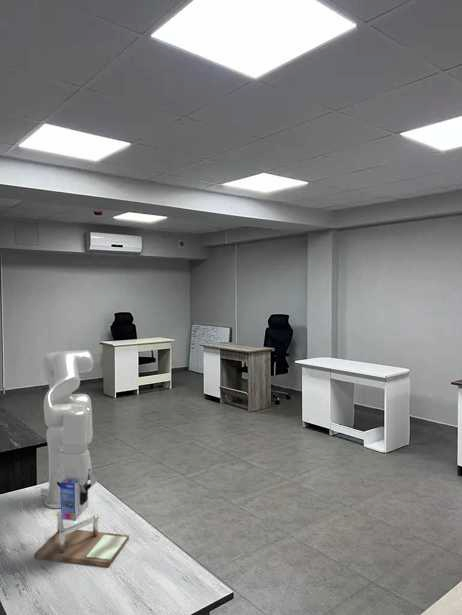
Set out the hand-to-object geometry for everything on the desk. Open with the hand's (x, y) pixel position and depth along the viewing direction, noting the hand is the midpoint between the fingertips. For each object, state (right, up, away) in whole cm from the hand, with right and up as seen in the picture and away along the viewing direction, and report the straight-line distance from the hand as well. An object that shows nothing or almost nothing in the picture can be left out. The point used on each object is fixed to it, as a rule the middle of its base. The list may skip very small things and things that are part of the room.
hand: (74, 501), depth 150 cm
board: (+2, -16, +1) cm, 16 cm away
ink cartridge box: (0, -4, 0) cm, 4 cm away
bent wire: (-3, -14, +2) cm, 15 cm away
